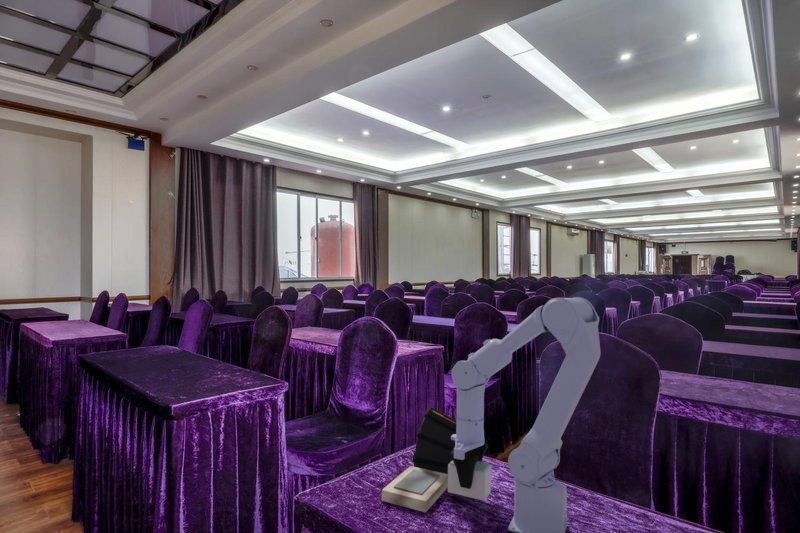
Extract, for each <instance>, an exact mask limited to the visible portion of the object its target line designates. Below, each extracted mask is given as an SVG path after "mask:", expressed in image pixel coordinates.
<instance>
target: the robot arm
mask: <svg viewBox="0 0 800 533" xmlns="http://www.w3.org/2000/svg"><path fill="white" fill-rule="evenodd" d="M599 323H600V316H599V315H598V312H597V311H596V309H595V307H594V306H593V304H592V303H591V302H590V301H589V300H587V298H585V297H580V296H574V297H555V298H551V299H548V301H547V302H546V303H545V304H544V305H543V304H542V305H541V306H539V307H537V308H536V309H535V310H534V311H533V312H532V313H530V314H529V316H527V317H526V318H524V320H522V321H521V322H520V323H519V324H518V325H517V326H516V327H514V328H513V329H512V330H511V331H510V332H509V333H508V334H506V335H505V336H504V337H503V338H502V339H499V338H492V339H491V338H489V339H485V340H484V341H483V342H482V344H483V346H482V347H481V348H479V349H477V351H475V352H470V354H468V355H467V357H468V358H467V360H459V361H456V363H455V364H454V366H453V367H452V370H451V379H452V382H453V384H454V385H455V387H456V419H455V420H456V434H453V435H452V436H451V440H455V448H454V450H453V451H452V452H451V458H452V460H453V462H454V464H455V467H456V470H457V474H458V478H459V483H460V487H463V488H467V489H470V488H471V485H472V481H473V473H474V468H475V465H476V462H477V461H480V462H483V459H484V456H485V453H486V451H487V449H488V447H489V444H488V443H486V442H485V429H484V426H485V425H484V423H485V421H484V420H485V418H484V417H485V416H484V415H485V391H486V389H485V388H486V385H487V383H488V382H489V380H490V378H491V377H492V376H494V375H495V374H496V373H498V372H499V371H500V370H502V369H503V368H504V367H506V366H507V365H509V364H510V363H511V362H512V359H513V353H514V352H515V351H517V350H518V349H521V348H522V347H523V346H525V345H526V344H527V343H529V342H530V341H532V340H533V339H535V338H536V337H538V336H539V335H541V334H542V333H551V334H552V336H554V338H556V340H557V341H558V343H560V345H561V347H562V349H563V351H564V353H565V357H564V359H563V361H562V363H561V366H560V368H559V370H558V372H557V375H556V376H555V378H554V381H553V383H552V384H551V387H550V390H549V391H548V394H547V396H546V398H545V400H544V402H543V404H542V406H541V409H540V411H539V412H538V415H537V417H536V420H535V422H534V424H533V425H532V428H531V429H530V430H529V432H528V433H526V435H525V436H524V437H523V438H522V440H521V442H520V444H519V445H518V447H516V448H514V449H512V450H511V452H510V453H509V455H508V460H507V463H508V464H507V466H508V468H509V471H510V474H511V475H512V477H513V479H514V496H513V497H514V498H513V499H514V500H513V501H514V502H513V504H514V506H513V507H514V508H513V512H514V514H513V517H512V519H511V521H510V523H509V525H508V527H507V529H508V531H510V532H513V533H566V530H567V528H568V516H567V512H568V511H567V510H568V508H567V507H568V505H567V504H568V488H567V485H566V484H563V483H560V482H558V481H557V480H555V474H554V473H555V472H554V470H555V469H557V467H558V466H559V464H560V461H561V460H560V459H561V455H560V454H561V448H562V445H563V443H564V442H563V440H562V436H563V434H564V432H565V430H566V428H567V427H568V424H569V422H570V420H571V418H572V416H573V414H574V411H575V410H576V407H577V405H578V404H579V401H580V400H581V398H582V395H583V393H584V392H585V389H586V388H587V386H588V383H589V381H590V380H591V377H592V375H593V373H594V370H595V369H596V367H597V364H598V363H599V361H600V358H601V352H602V351H601V344H600V343H601V341H600V334H599V333H600V332H599Z"/></svg>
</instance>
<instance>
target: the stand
mask: <svg viewBox="0 0 800 533" xmlns="http://www.w3.org/2000/svg"><path fill="white" fill-rule="evenodd" d="M446 490H448V474H445V473H440V472H436V471H431V470H427V469H422V468H418V467H414V465H413V466H412V465H410V466H409V467H407V468H406V469H405V470H404V471H402V472H401V473H400V474H399V475H398V476H397V477H395V478H394V479H393V480H392V481H390V483H388V484H387V485H386V486H385V487H383V488H382V489H381V502H386V503H390V504H391V505H397V506H400V507H403V508H408V509H411V510H414V511H418V512H422V513H427V512H428V511H429V509H430V508H431V507H432V506H433V505H434V504H435V503H436V501H437V500H439V498H440V497H441V496H442V495H443V494H444V493H445V492H446Z"/></svg>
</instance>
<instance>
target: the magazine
mask: <svg viewBox="0 0 800 533" xmlns="http://www.w3.org/2000/svg"><path fill="white" fill-rule="evenodd" d="M422 419H423V420H422V421H421V425H420V428H418V429H417V435H416V437H417V439H416V443H415V449H414V451H413V455H412V462H413V467H418V468H422V469H427V470H431V471H436V472H440V473H445V474H448V464H449V463H450V462H451V461H452V458H451V452H452V451H453V450H454V448H455V440H451V436H452V435H453V434H456V420H457V419H455V418H453V417H451V416H449V415H447V414H445V413H443V412H441V411H439V410H437V409H435V408H434V407H432V406H429V407H428V409H426V410H425V412H424V418H422Z"/></svg>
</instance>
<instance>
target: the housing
mask: <svg viewBox="0 0 800 533" xmlns="http://www.w3.org/2000/svg"><path fill="white" fill-rule="evenodd" d="M491 489H492V465H491V464H490V463H489V462H484V461H482V462H480V461H477V462H476V465H475V468H474V473H473V481H472V485H471V488H470V489H467V488H463V487H460V483H459V478H458V474H457V470H456V467H455V464H454V462H453V460H452V461H451V462H450V463H449V464H448V488H447V493H450V494H454V495H458V496H462V497H466V498H467V497H468V498H471V499H475V500H480V501H484V502H485V501H486V500H487V498H488V497H489V495H490V494H491V492H492V490H491Z"/></svg>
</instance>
